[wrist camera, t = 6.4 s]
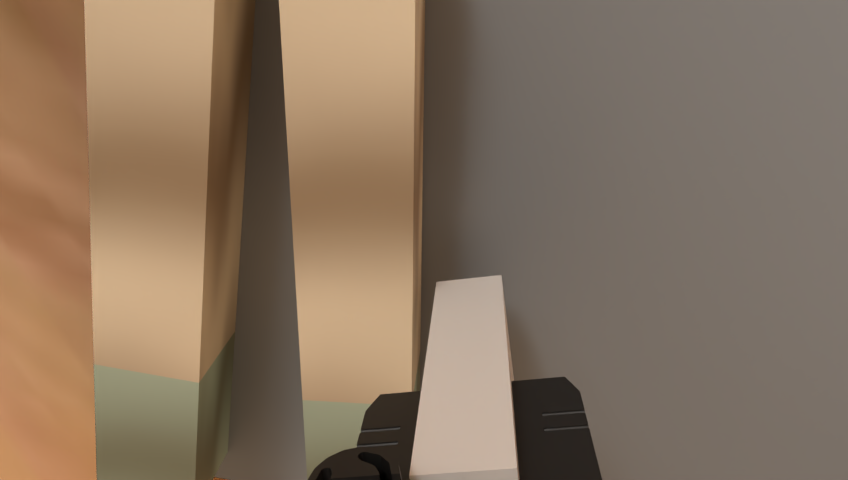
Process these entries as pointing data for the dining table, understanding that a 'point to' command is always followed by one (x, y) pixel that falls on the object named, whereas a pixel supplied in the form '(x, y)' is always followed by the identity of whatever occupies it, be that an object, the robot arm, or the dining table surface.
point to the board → (606, 226)
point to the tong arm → (354, 205)
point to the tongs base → (165, 228)
